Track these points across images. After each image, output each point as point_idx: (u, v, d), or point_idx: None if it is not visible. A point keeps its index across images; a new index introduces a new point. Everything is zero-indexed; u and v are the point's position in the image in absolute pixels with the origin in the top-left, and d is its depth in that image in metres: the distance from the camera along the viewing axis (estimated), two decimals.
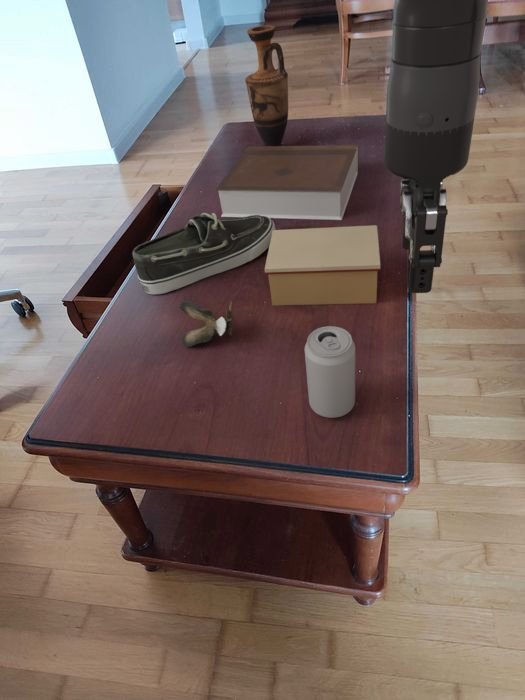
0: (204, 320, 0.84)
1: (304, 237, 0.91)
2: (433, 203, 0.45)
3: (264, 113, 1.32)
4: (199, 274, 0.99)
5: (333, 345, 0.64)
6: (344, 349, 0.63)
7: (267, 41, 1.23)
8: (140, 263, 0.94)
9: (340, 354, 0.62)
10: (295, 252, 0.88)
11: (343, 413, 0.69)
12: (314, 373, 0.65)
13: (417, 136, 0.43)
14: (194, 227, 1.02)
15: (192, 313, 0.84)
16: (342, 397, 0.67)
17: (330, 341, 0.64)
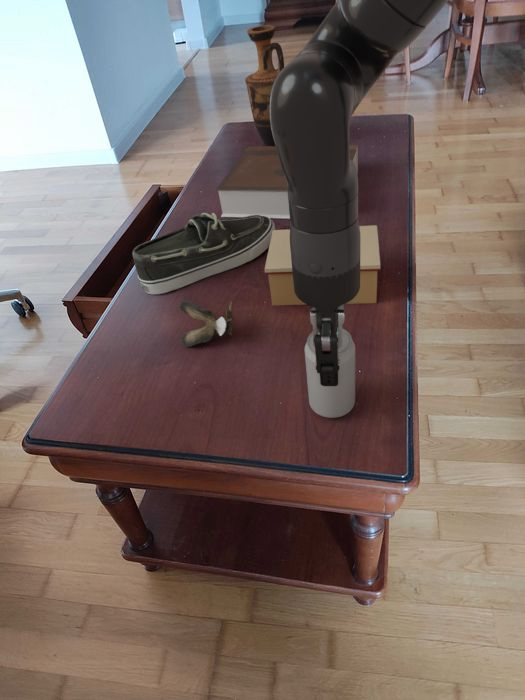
0: (204, 320, 0.84)
1: None
2: (328, 330, 0.56)
3: (264, 113, 1.32)
4: (199, 274, 0.99)
5: None
6: (344, 349, 0.63)
7: (267, 41, 1.23)
8: (140, 263, 0.94)
9: (340, 354, 0.62)
10: None
11: (343, 413, 0.69)
12: (314, 373, 0.65)
13: (311, 278, 0.54)
14: (194, 227, 1.02)
15: (192, 313, 0.84)
16: (342, 397, 0.67)
17: None
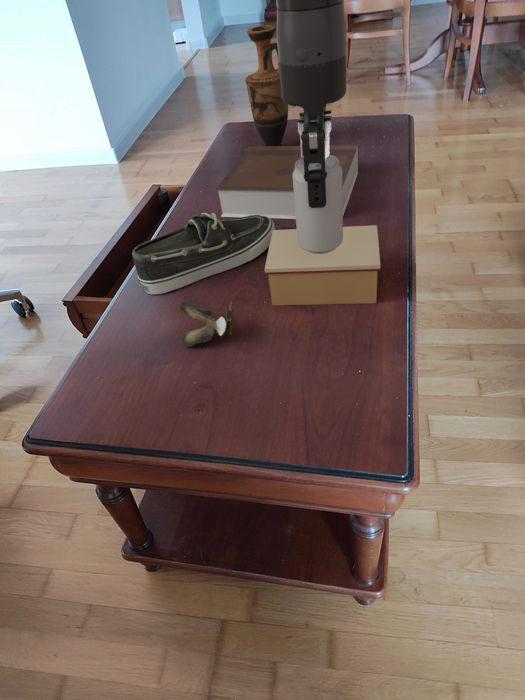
0: (204, 320, 0.84)
1: None
2: (315, 128, 0.57)
3: (264, 113, 1.32)
4: (199, 274, 0.99)
5: (320, 166, 0.65)
6: (331, 168, 0.64)
7: (267, 41, 1.23)
8: (140, 263, 0.94)
9: (327, 171, 0.63)
10: (295, 252, 0.88)
11: (331, 247, 0.70)
12: (302, 197, 0.66)
13: (298, 69, 0.55)
14: (194, 227, 1.02)
15: (192, 313, 0.84)
16: (329, 225, 0.68)
17: (317, 163, 0.65)
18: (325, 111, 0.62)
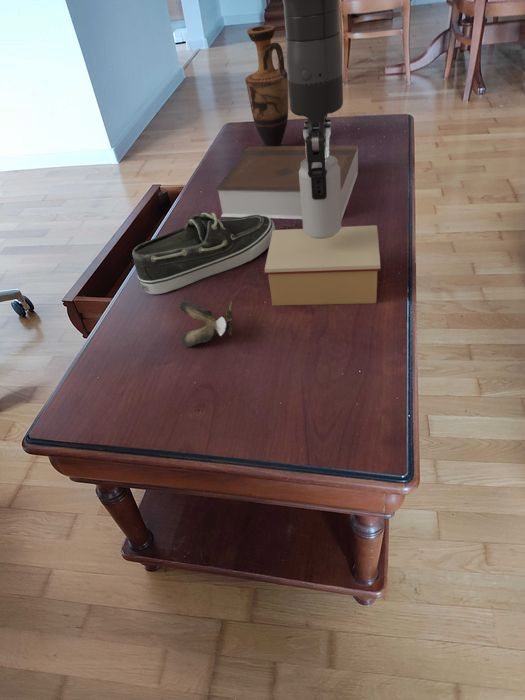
0: (204, 320, 0.84)
1: (304, 237, 0.91)
2: (317, 133, 0.70)
3: (264, 113, 1.32)
4: (199, 274, 0.99)
5: None
6: (331, 166, 0.77)
7: (267, 41, 1.23)
8: (140, 263, 0.94)
9: (327, 169, 0.77)
10: (295, 252, 0.88)
11: (331, 233, 0.83)
12: (306, 190, 0.79)
13: (303, 86, 0.68)
14: (194, 227, 1.02)
15: (192, 313, 0.84)
16: (329, 214, 0.81)
17: (319, 162, 0.78)
18: (326, 119, 0.75)
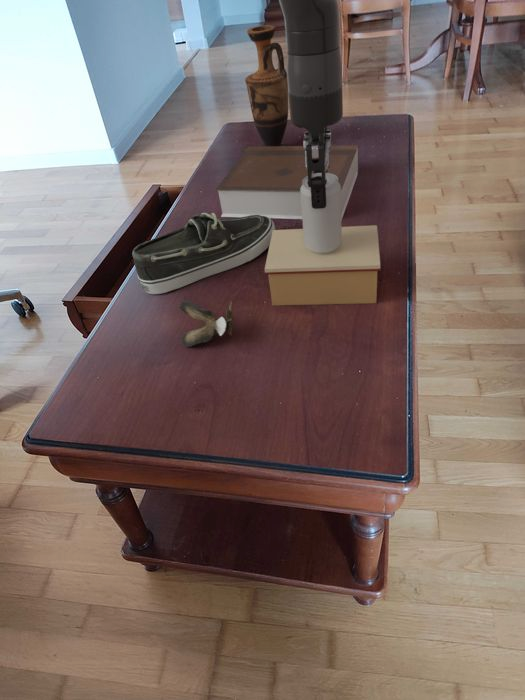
0: (204, 320, 0.84)
1: None
2: (317, 143, 0.71)
3: (264, 113, 1.32)
4: (199, 274, 0.99)
5: None
6: (332, 184, 0.79)
7: (267, 41, 1.23)
8: (140, 263, 0.94)
9: (328, 187, 0.78)
10: (295, 252, 0.88)
11: (332, 248, 0.85)
12: (308, 207, 0.81)
13: (304, 99, 0.69)
14: (194, 227, 1.02)
15: (192, 313, 0.84)
16: (330, 231, 0.83)
17: None
18: (326, 131, 0.76)
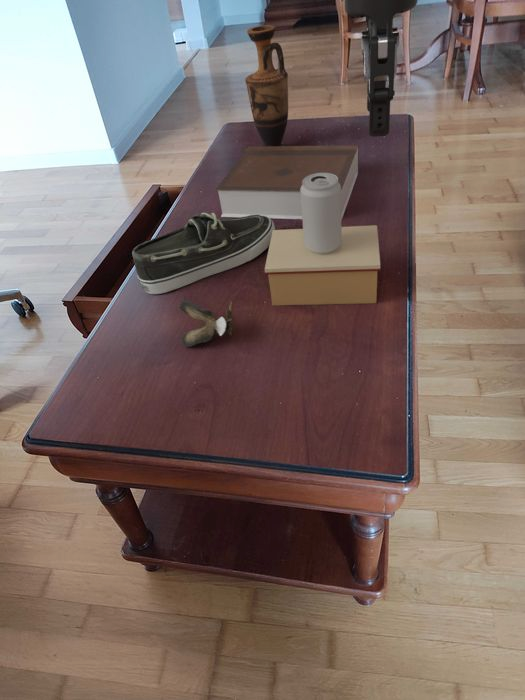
0: (204, 320, 0.84)
1: None
2: (385, 35, 0.52)
3: (264, 113, 1.32)
4: (199, 274, 0.99)
5: (323, 183, 0.80)
6: (332, 184, 0.79)
7: (267, 41, 1.23)
8: (140, 263, 0.94)
9: (328, 187, 0.78)
10: (295, 252, 0.88)
11: (332, 248, 0.85)
12: (308, 207, 0.81)
13: None
14: (194, 227, 1.02)
15: (192, 313, 0.84)
16: (330, 231, 0.83)
17: (320, 180, 0.80)
18: None
